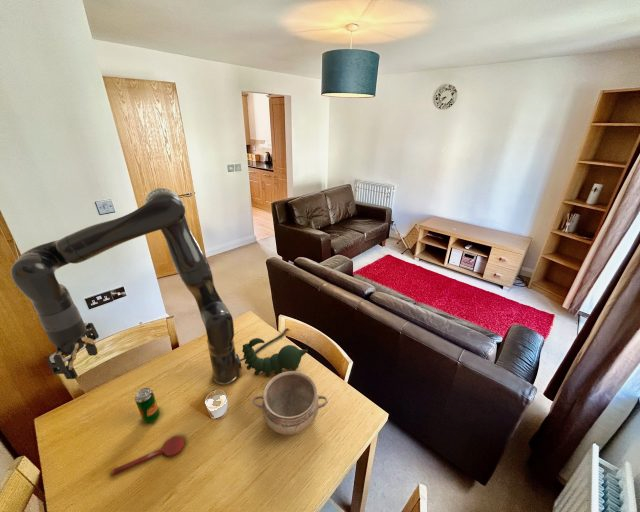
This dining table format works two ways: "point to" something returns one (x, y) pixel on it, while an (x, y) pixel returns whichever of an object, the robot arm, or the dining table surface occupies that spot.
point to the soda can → (147, 405)
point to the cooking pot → (290, 402)
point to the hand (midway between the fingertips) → (84, 365)
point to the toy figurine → (272, 358)
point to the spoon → (156, 453)
